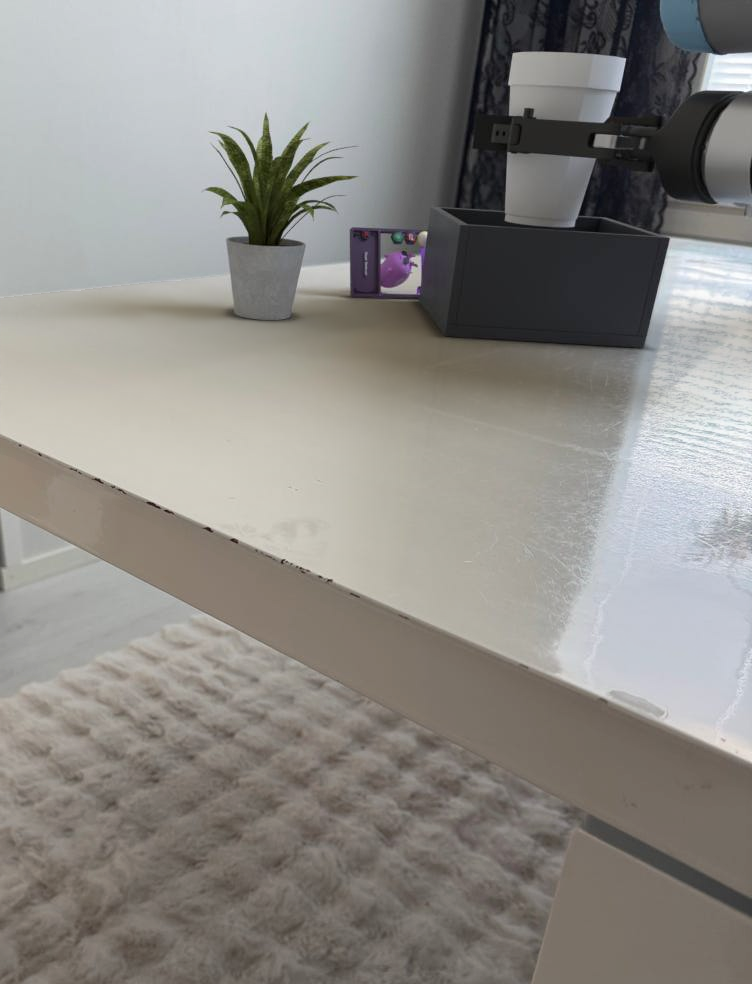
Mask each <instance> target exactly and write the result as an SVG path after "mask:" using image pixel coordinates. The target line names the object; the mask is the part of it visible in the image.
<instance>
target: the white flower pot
mask: <svg viewBox="0 0 752 984" xmlns="http://www.w3.org/2000/svg"><path fill="white" fill-rule="evenodd" d="M626 61H627V58H625V57H621V56H617V55H616V56H615V55H607V54H606V55H605V54H597V53H596V54H595V53H581V52H567V51H565V52H564V51H563V52H562V51H520V52H513V53H512V56H511V61H510V70H509V76H508V82H507V85H508V86H509V106H508V116H523V114H524V108H533V109H534V113H533V117H536V119H545V120H562V121H579V122H597V123H604V122H605V121H606V120H607V118H609V117H611V113H612V109H613V106H614V103H615V100H616V97H617V94H618V93H620V91H621V86H622V83H623V82H622V81H623V77H624V71H625V67H626ZM506 155H507V156H506V175H505V179H506V180H505V200H504V211H505V213H506V215H505V221H507V222H511V223H517V224H524V225H533V226H546V227H574V226H575V221H576V219H577V217H578V216H579V214H580V211H581V207H582V204H583V202H584V198H585V195H586V191H587V188H588V186H589V183H590V179H591V175H592V173H593V169H594V167H595V163H596V160H597V159H595V158H585V157H573V156H561V155H548V154H536V153H530V154H522V153H517V154H513V153H511V152H506Z"/></svg>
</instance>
